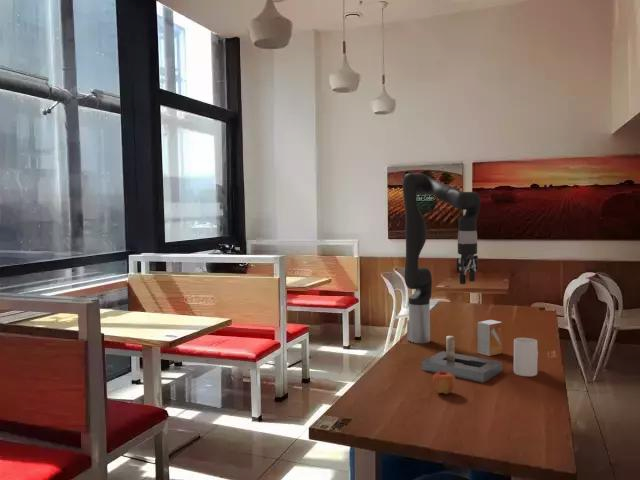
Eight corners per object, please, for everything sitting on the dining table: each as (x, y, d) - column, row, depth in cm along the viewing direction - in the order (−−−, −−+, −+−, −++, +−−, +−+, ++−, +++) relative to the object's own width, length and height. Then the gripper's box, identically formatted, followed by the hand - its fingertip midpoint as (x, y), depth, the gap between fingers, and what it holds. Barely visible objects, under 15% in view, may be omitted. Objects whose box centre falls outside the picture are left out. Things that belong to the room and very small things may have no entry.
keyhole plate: (422, 369, 199) (421, 360, 199) (442, 359, 211) (442, 351, 211) (483, 382, 184) (483, 372, 183) (501, 371, 196) (501, 361, 196)
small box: (489, 356, 215) (489, 324, 214) (477, 353, 220) (477, 321, 219) (502, 353, 219) (502, 321, 218) (490, 349, 224) (490, 319, 223)
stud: (441, 368, 200) (441, 337, 199) (447, 365, 204) (447, 334, 203) (453, 371, 197) (453, 339, 196) (459, 367, 201) (459, 336, 200)
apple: (451, 398, 170) (451, 374, 169) (429, 394, 174) (429, 370, 173) (458, 391, 176) (458, 367, 175) (437, 387, 180) (436, 364, 179)
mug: (538, 367, 199) (538, 336, 198) (537, 377, 188) (538, 344, 187) (514, 365, 202) (514, 334, 201) (513, 375, 191) (513, 342, 190)
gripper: (466, 240, 220) (466, 279, 221) (450, 243, 209) (450, 284, 210) (483, 241, 215) (484, 281, 216) (468, 243, 204) (468, 285, 205)
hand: (467, 282), depth 213 cm, fingers open, 8 cm apart
